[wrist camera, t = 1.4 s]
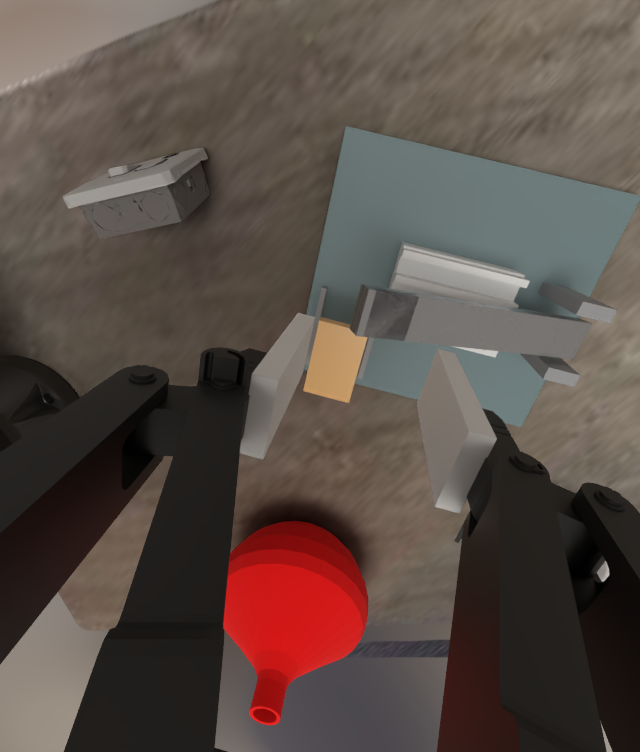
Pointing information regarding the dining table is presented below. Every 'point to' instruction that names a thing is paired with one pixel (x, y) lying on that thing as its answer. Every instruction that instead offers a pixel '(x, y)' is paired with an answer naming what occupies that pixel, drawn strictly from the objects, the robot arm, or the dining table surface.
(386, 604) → the dining table surface
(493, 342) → the grey long bar
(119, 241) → the dining table surface
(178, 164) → the electrical switch
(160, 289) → the dining table surface
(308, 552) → the vase
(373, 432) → the dining table surface
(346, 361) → the orange block
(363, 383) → the teal base with bracket
